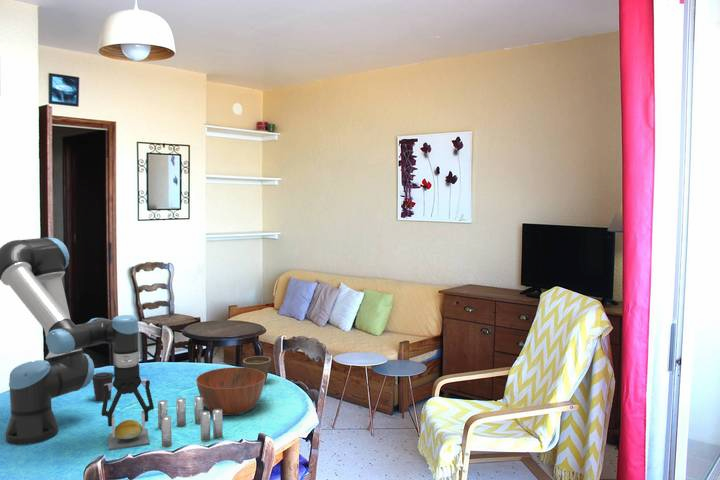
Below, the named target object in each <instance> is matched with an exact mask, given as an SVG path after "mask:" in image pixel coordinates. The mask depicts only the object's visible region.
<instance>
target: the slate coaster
mask: <svg viewBox="0 0 720 480" xmlns="http://www.w3.org/2000/svg"><path fill="white" fill-rule="evenodd" d="M148 445H150V436H149V429H148V428H145V433H142V432H141V434H140V435H138V436H136V437H134V438H130V439H119V438H116V437H112V432H111V433H108V451H113V450H114V451H115V450H121V449H122V450H123V449H127V448H134V447H142V446H148Z"/></svg>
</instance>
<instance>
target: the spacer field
mask: <svg viewBox="0 0 720 480" xmlns="http://www.w3.org/2000/svg"><path fill="white" fill-rule="evenodd" d="M175 403H176V405H175V407H176V408H175V409H176V427H178V428H179V427H180V428H181V427H182V428H183V427H185V426H186V425H187V416H186V415H187V414H186V413H187V412H186V410H187V408H186V404H187V403H186V398H185V397H179V398H176V401H175ZM204 406H205V405H204V401H203V396H200V395H197V396H194V424H195V425H200V441H201V442H203V443H204V442H209V441H211V411H209V410H204V409H205V408H204ZM157 426H158V427H157V428H158V430H161V432H160V433H161V447H162V448H169V447H171V446H173V445H172V444H173V442H172V440H173V439H172V437H173V435H172V416H171V415H168V400H166V399H165V400H163V399H162V400H158V401H157ZM223 429H224V427H223V415H222V409H214V410H213V412H212V438H213V439H215V440H219V439H222V438H223Z"/></svg>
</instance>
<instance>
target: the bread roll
mask: <svg viewBox="0 0 720 480" xmlns="http://www.w3.org/2000/svg"><path fill="white" fill-rule="evenodd" d="M141 432H142V423H140V422H139V421H138V420H135V419H126V420H123V421H121V422H119V423H118V424H117V425H116V426H115V437H116V438H119V439H130V438H134V437H136V436H138V435H140V434H141Z"/></svg>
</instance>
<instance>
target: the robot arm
mask: <svg viewBox="0 0 720 480" xmlns="http://www.w3.org/2000/svg"><path fill="white" fill-rule="evenodd" d="M69 261H70V253H69V250H68V248H67V246H66V244H64V242H63V241H61V240H60V239H58V238H55V237H38V238H27V239H14V240H11V241H8V242H6V243H5V244H3V245H2V246H0V282H1V283H2V284H4V285H5V286H9V287H10V288H11V290H12V291H13V292H14V294H16V296H17V297H18V298H19V300H20V301H21V302H22V304H23V305H25V307H26V308H27V310H28V311H29V312H30V313H31V315H32V316H33V317H34V319H35V320H36V321H37V322H38V323H39V325H40V326H41V327H42V328H43V330H44V333H45V343H46V345H47V349H48V354H47V355H46V356H45V360H43V359H39V360H38V359H37V360H34V361H26V362H24V363H21V364H19V365H17V366H15V367H14V368H13V369H12V370H11V371H10V373H9V379H8V381H9V382H8V387H9V397H10V398H9V399H10V400H9V401H10V403H9V404H10V418H9V421H8V424H7V427H6V430H5V441H6V443H8V444H10V443H11V445H16V446H17V445H18V446H19V445H21V446H24V445H31V444H37V443H40V442H41V443H42V442H44V441H47V440H50V439H52V438H54V437H55V436H56V435H57V434H58V433H59V424H58V421H57V419H56V417H55V414H54V412H53V409H52V399H55V398H58V397H60V396H61V397H62V396H63V395H67V394H70V393H73V392H76V391H80V390H81V389H85V388H86V387H88V386H89V385H90V384H91V382H92V381H93V380H92V379H93V376H94V374H95V364H94V361H93V359H92V358H91V357H90V355H89V354H87V353H84V351H83V349H85V348H89V347H93V346H99V345H101V344H107V345H112V346H113V375H114V376H113V378H114V379H113V380H112V383H109V384H108V383H105V384H104V389H105V395H104V401H103V402H102V407H101V416H102V417H106V418H107V427H109V428H111V433H112V437H115V428H116V426H115V425H116V424H115V414H114V412H115V410H116V407H117V405H118V403H119V401H120V398H121V397H122V395H127V394H134V396H135V398H136V399H137V401H138V403H139V405H140V407H141V408H142V410H141V426H142V433H145V429H146V425H145V424H146V422H149V412H150V411H153V410H154V409H155V406H154V401H153V397H152V393H151V389H150V385H151V380H150V378H146V379H142V378H141V376H140V364H139V362H140V350H139V347H140V346H139V345H140V344H139V343H140V342H139V323H138V322H139V321H138V318H137V316H135V315H134V314H133V315H132V314H122V315H117V316H115V317H113V318H112V319H107V318H104V317H95V318H91V319H90V320H89V321H87V322H85V323H80V324H75V323H74V322H73V321H72V319H71V315H70V309H69V306H68V301H67V298H66V297H67V296H66V293H65V289H64V285H63V276H64V275H65V274H66V271H65V269H66V268H67V267H68V266H69V263H70V262H69ZM114 365H115V367H114ZM141 384H142V386H143V387H144V388H145V392H146V393H145V394H146V396H147V397H146V398H147V401H148V405H147V403H146V402H145V400H144V398H143V397H142V395H141V393H140V391H139V389H138V388H139V387H140V385H141ZM112 388H114V389H115V390H116V393H115V396H114V398H113V400H112V402H111V405H110V406H109V408H108V403H109V400H108V398H109V391H110V390H111V389H112ZM111 391H112V390H111ZM107 409H108V410H107Z"/></svg>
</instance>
